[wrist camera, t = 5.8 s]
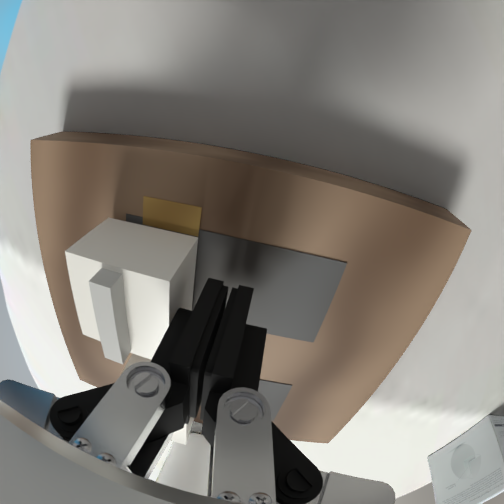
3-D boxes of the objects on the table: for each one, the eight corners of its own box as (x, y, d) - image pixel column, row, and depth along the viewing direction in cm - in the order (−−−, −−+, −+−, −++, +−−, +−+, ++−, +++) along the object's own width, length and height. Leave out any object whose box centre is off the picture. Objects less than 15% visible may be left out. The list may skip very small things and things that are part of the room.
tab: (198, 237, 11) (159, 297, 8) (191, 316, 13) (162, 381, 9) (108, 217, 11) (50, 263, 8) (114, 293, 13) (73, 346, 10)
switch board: (446, 209, 12) (471, 230, 9) (327, 417, 20) (327, 443, 18) (62, 131, 12) (29, 140, 10) (93, 358, 21) (79, 379, 18)
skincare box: (450, 456, 25) (460, 514, 16) (426, 456, 25) (434, 522, 16) (507, 415, 20) (526, 478, 11) (489, 413, 20) (510, 486, 11)
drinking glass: (156, 427, 25) (113, 544, 12) (206, 424, 23) (168, 567, 10) (193, 454, 28) (164, 558, 14) (243, 452, 25) (219, 573, 12)
